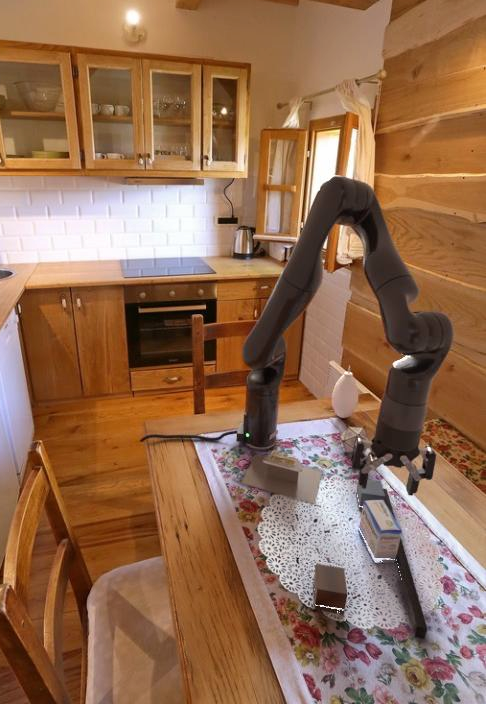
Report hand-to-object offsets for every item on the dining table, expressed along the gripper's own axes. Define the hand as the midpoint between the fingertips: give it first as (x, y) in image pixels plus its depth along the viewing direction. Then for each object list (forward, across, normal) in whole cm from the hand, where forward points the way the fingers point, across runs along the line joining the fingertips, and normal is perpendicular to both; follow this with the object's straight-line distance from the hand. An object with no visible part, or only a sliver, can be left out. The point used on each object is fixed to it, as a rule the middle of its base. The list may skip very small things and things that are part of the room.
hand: (385, 489), depth 78 cm
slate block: (+15, -1, -12) cm, 19 cm away
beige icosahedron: (+15, 0, -31) cm, 35 cm away
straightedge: (+15, -4, +1) cm, 16 cm away
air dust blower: (+15, +1, -49) cm, 51 cm away
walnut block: (+15, +10, +13) cm, 22 cm away
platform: (+15, +19, -17) cm, 30 cm away
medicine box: (+15, 0, 0) cm, 15 cm away
